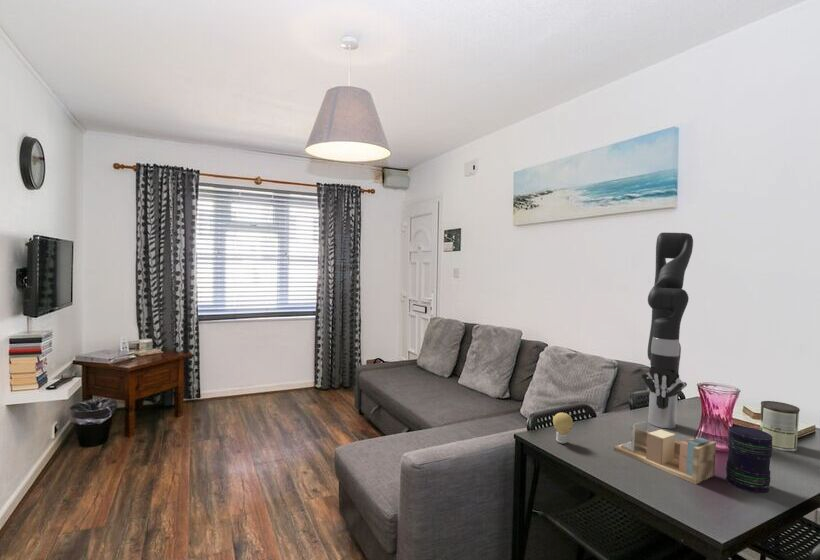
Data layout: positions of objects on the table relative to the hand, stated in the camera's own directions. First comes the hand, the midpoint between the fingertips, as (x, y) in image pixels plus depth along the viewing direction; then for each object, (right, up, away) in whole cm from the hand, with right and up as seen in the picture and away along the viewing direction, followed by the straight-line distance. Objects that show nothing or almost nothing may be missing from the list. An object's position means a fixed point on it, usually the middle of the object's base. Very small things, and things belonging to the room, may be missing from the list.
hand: (661, 408), depth 133 cm
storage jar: (+17, -18, -12) cm, 28 cm away
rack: (0, -17, 0) cm, 17 cm away
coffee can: (+50, -18, +17) cm, 56 cm away
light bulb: (-26, -16, +13) cm, 33 cm away
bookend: (-5, -15, +8) cm, 18 cm away
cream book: (0, -16, 0) cm, 16 cm away
